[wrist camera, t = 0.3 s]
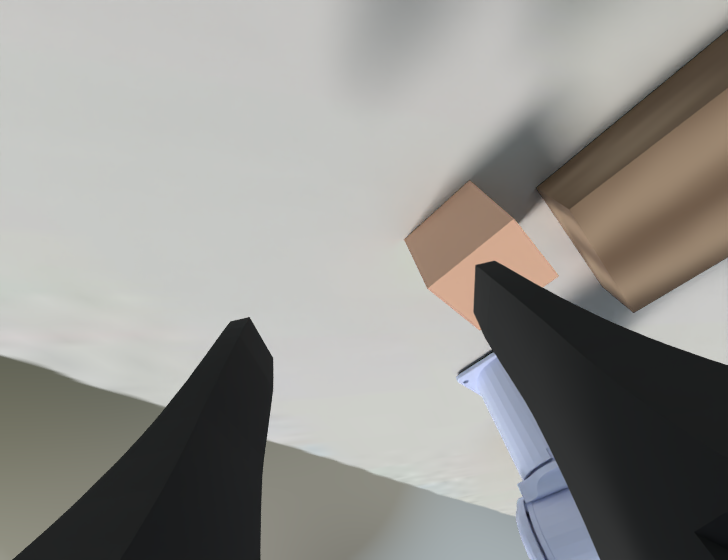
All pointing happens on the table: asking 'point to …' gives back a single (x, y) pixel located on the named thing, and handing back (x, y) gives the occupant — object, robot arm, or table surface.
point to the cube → (472, 248)
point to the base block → (653, 186)
